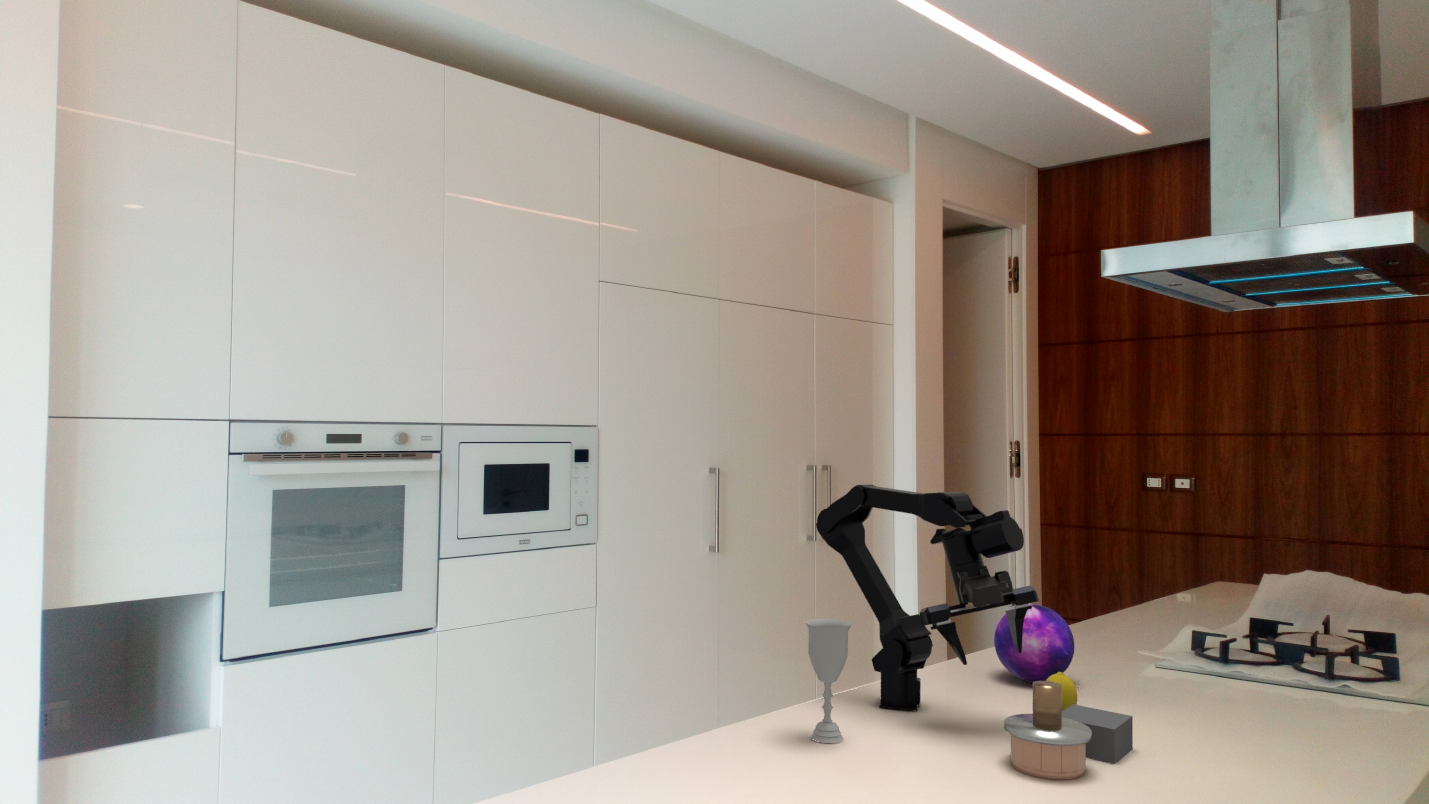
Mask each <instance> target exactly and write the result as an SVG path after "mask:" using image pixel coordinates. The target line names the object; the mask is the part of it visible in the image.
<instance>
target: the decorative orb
mask: <svg viewBox="0 0 1429 804" xmlns="http://www.w3.org/2000/svg"><path fill="white" fill-rule="evenodd" d="M1028 604H1029V606H1031V605H1032V609H1028V610H1027V613H1026V615H1025V618H1024V623H1023V636H1022V653H1017V650H1016V648H1015V645H1014V642H1013V638H1012V635H1011V631H1010V627H1009V623H1008V620H1007V616H1006V613H1005V614H1004V615H1003V616H1002V617H1001V618H1000V620H998V621H999V622H998V623H997V625H996V628H995V631H994V638H993V641H994V642H993V643H994V649H995V652H996V656H997V659H999V661H1000V663H1001V665H1002V666H1003V668H1005V669H1006V670H1007V671H1008V673H1011V674H1012V676H1014V677H1016V678H1018V679H1020V680H1023V681H1026V682H1029V683H1033V682H1035V681H1046V680H1047V679H1048V678H1049V677H1050V676H1051V675H1054V674H1057V673H1058V672H1062V673H1063V674H1064V673H1065V672H1066V671H1067V669H1068V668H1069V667H1070V665H1071V663H1072V662H1073V658H1074V655H1075V638H1074V635H1073V632H1072V629H1071V628H1070V626H1069V624H1068V623H1067V622H1066V620H1065V619H1064V618H1063V617H1062V616H1061V615H1060V614H1059V613H1058V612H1057V611H1055V610H1054V609H1051V608H1049V607H1047V606H1045V605H1040V604H1034V603H1033V604H1032V603H1028Z"/></svg>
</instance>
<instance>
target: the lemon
mask: <svg viewBox="0 0 1429 804" xmlns="http://www.w3.org/2000/svg"><path fill="white" fill-rule="evenodd" d="M1046 681H1050V682H1055V683H1058V684H1061V685H1062V711H1063V710H1065V709H1066V708H1068V707H1070V706H1071V705H1073V704H1075V705H1078V704H1077V703H1078V690H1077V688H1076V687H1077V686H1076V685H1075V682H1074V681H1073V679H1072V678H1070V677H1069V676H1068V675H1065V674H1064V673H1062V672H1058V673H1057V674H1054V675H1051V676H1050V677H1049V678H1048V679H1047V680H1046Z"/></svg>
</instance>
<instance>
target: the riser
mask: <svg viewBox="0 0 1429 804" xmlns="http://www.w3.org/2000/svg"><path fill="white" fill-rule="evenodd" d="M1062 717H1064V718H1068V719H1072V720H1075V721H1078V722H1080V723H1083V724H1084V725H1086V726H1088V727H1089V728H1090V729H1091V731H1092V739H1091V740H1090V741H1089V742H1087V743H1085V758H1087V759H1092V760H1096V761H1101V762H1105V763H1110V764H1114V765H1115V764H1116V763H1118V762H1119V761H1120V760H1121V759H1123V758H1124V756H1126V755H1127V754H1128V753H1129V752H1130V751H1132V750H1133V749H1134V747H1133V743H1134V742H1133V741H1134V740H1133V730H1134V729H1133V727H1134V725H1133V722H1134V721H1133V715H1129V714H1123V713H1118V712H1116V711H1115V712H1114V711H1109V710H1105V709H1099V708H1095V707H1088V706H1084V705H1079V704H1077V705H1075V704H1073V705H1071V706H1070V707H1068V708H1066V709H1065V710H1063V711H1062Z"/></svg>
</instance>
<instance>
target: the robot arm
mask: <svg viewBox="0 0 1429 804" xmlns="http://www.w3.org/2000/svg"><path fill="white" fill-rule="evenodd" d="M873 508H875V509H881V510H887V511H893V512H898V513H904V514H905V513H906V514H910V515H914V516H916V517H918V518H920V519H921V520H923V521H924V522H927V523H930V524H932V525H934V526H938V527H948V526H950V527H953V528H952V529H950V530H947V529H945V528H936V530H935V533H934V535H933V536H932V538H931V539H930V541H929V542H930V544H931V545H937V544H942V547H943V550H944V554H945V558H946V562H947V566H948V568H949V572H950V575H949V576H950V580H951V582H952V584H953V587H954V590H955V594H956V602H957V604H955V605H949V604H948V603H940V604H937V605H931V606H928V607H924V608H923V607H922V608H921V609H920V611H919V614H917V613H916V614H912V615H910V614H908V613H907V612H906V611H905V610H904V609H903V608H902V606H901V604H900V602H899V600H898V599H897V597H896V595H895V593H894V592H893V590H892V588H891V586H890V585H889V583H888V581H887V579H886V578H885V576H884V575H883V572H882V571H881V569H880V567H879V566H878V563H877V562H876V560H875V558H874V557H873V555H872V554H871V552H870V550H869V548H868V547H867V544H866V529H865V526H864V523H865V521H866V520H867V519H868V518H869V517H870V515H871V513H872V510H873ZM817 515H818V516H817V520H816V523H815V527H816V531H817V533H818V534H819V535H820V537H821V538H822V539H823V540H824V542H825V543H826V544H827V546H829V547H830V548H831V549H833V550H834V551H835V552H837V553H838V554H839V555H841V557H842V558H843V561H844V562H845V564H846V565H847V567H848V569H849V571H850V573H851V574H852V576H853V578H854V580H855V581H856V583H857V586H858V587H859V590H861V593H862V594H863V596H864V599H865V600H866V602H867V604H868V605H869V607H870V609H871V610H872V611H871V612H873V614H874V616H875V618H876V620H877V621H878V625H879V627H878V628H879V641H880V644H881V647H882V648H880V650H879V651H878V652H877V653H876V654H875V655H874V656H872V658H871V662H872V667H873V671H874V672H878V673H880V700H879V703H878V706H879V708H882V709H892V710H893V709H894V710H902V711H903V710H904V711H914V712H915V711H916V712H917V710H918V706H920V705H921V692H922V691H921V687H922V686H921V683H922V682H921V680H922V679H921V678H920V677H918V670H922V669H923V670H924V669H925V665H926V663H927V660H928V659H929V658H930V656H931V654H932V651H933V649H932V648H933V645H934V644H933V641H932V639H931V635H932V632H931V631H932V630H937V631H938V633H939V634H940V635H941V636H942V638H944V639H945V641H946V642H947V643H948V644H949V646H950V647H951V649H952V651H954V652H953V653H955V655H956V656H957V658H958V659H959V661H960V662H961V663H962V665H963V666H967V665H968V661H967V656H966V653H965V650H964V648H963V646H962V642H961V640H960V637H959V635H958V631H957V626H956V621H952V620H951V618H954V617H958V616H962V615H967V614H972V613H977V612H981V611H986V610H990V609H995V608H1001V607H1005V606H1007V607H1008V608H1007V609H1008V610H1005V614H1006V616H1007V620H1008V623H1009V627H1010V631H1011V635H1012V638H1013V642H1014V645H1015V648H1016V650H1017V653H1022V636H1023V623H1024V618H1025V615H1026V613H1027V610H1028V609H1032V605H1031V606H1029V604H1032V603H1033V604H1034V603H1037V602H1040V599H1039V595H1038V593H1037V590H1036V588H1034V586H1032V585H1027V586H1021V587H1017V588H1014V586H1013V583H1012V579H1011V577H1010V576H1011V575H1010V573H1009V571H1007V570H1000V571H996V572H994V575H992V576H991V574H990V572H989V569H988V567H987V565H985V563H984V559H983V557H985V559H992V558H996V557H999V556H1003V555H1006V554H1010V553H1014V552H1018V551H1021V550H1022V549H1023V547H1024V545H1025V543H1024V542H1025V537H1024V533H1023V529H1022V528H1021V527H1020V526H1019V524H1018V522H1017V521H1016V520H1015V518H1013V517H1011V514H1010V511H1009V510H1006V509H1005V510H1004V509H1003V510H999V511H995V512H994V513H992V514H989V515H986V514H985V513H984V512H983V511H981V509H979V508H978V507H977V506H976V505H974V503H973V502H972V499H971V498H970V497H969V494H968V493H966V492H964V491H944V492H943V491H941V492H939V491H938V492H927V493H924V492H918V491H911V490H910V491H909V490H902V489H897V488H889V487H882V486H877V485H875V484H871V483H870V484H856V485H854V486H853V487H852V488H850V489H849V491H848V492H846V494H844V495H843V496H841V497H840V498H838V499H836V500H835V501H833V502H832V503H830V504H829V506H828V507H827V508H824V509H822V510H821V511H820V512H819V513H818V514H817ZM968 527H969V528H970V529H969V530H966V529H964V528H968ZM969 604H972V605H971V606H969ZM967 605H968V606H967ZM928 625H929V626H930V625H931V626H930V629H931V631H930V630H929V629H928V628H927V627H926V626H928Z"/></svg>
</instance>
